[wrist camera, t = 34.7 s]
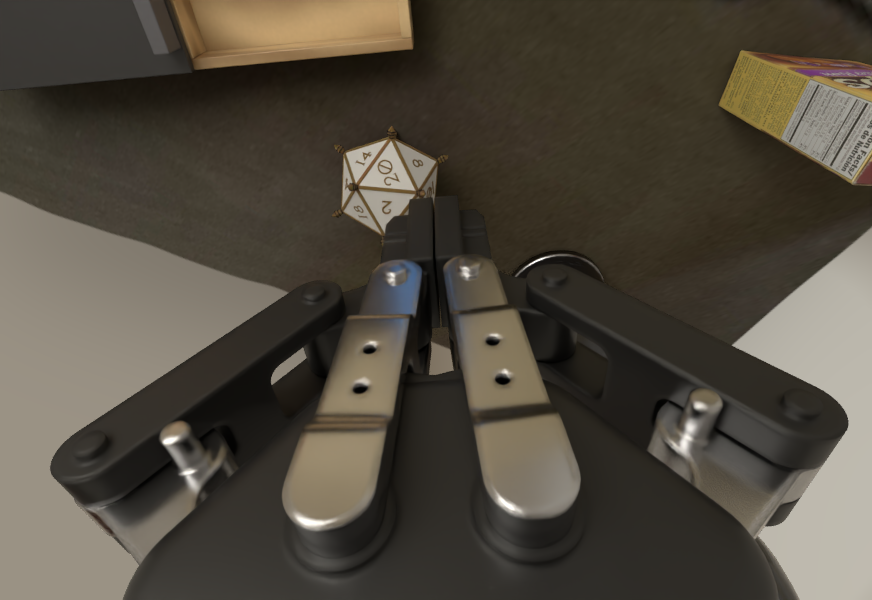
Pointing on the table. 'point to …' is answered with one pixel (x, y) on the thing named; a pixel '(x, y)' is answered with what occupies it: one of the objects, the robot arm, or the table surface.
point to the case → (290, 29)
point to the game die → (385, 180)
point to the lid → (88, 42)
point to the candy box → (808, 108)
